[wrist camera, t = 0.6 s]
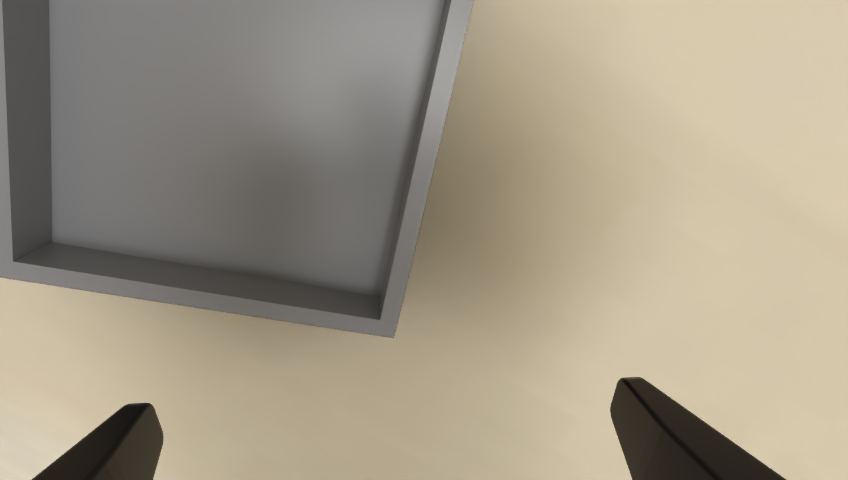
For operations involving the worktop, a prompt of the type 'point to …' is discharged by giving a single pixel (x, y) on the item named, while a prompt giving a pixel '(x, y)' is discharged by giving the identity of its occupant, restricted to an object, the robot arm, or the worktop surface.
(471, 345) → the worktop surface
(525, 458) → the worktop surface
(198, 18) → the tray
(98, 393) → the worktop surface
